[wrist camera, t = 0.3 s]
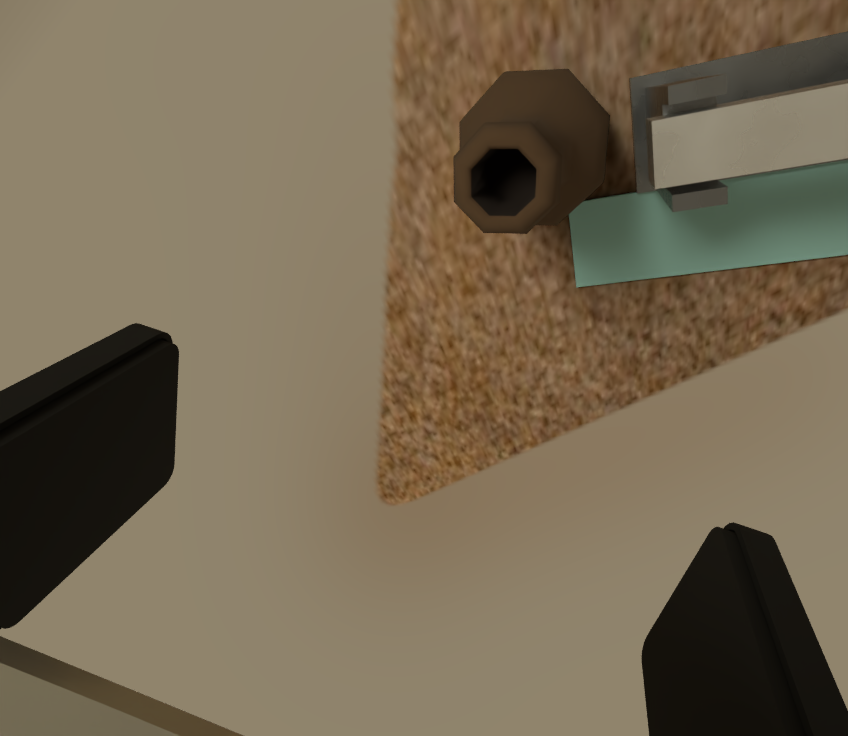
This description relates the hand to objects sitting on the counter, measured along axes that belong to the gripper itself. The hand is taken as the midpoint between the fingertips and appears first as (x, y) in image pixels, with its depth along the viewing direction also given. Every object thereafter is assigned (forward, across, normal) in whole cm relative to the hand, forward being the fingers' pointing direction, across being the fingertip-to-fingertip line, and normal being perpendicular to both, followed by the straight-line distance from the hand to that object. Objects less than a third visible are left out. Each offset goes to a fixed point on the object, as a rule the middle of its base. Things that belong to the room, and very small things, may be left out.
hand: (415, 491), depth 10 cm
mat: (+36, -11, -1) cm, 37 cm away
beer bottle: (+36, +1, -4) cm, 36 cm away
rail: (+26, -12, -8) cm, 29 cm away
